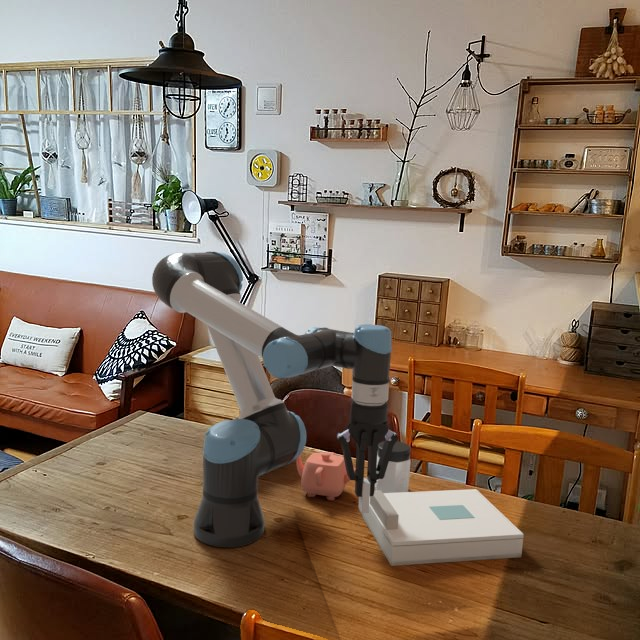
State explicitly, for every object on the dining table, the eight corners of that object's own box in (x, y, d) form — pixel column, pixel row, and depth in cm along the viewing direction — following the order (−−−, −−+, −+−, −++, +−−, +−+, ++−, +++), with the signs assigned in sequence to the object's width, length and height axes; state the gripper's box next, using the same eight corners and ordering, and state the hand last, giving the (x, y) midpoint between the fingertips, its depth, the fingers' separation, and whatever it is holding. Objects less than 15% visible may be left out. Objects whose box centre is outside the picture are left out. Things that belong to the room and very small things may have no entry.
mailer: (391, 565, 126) (392, 546, 125) (360, 514, 147) (362, 498, 146) (521, 557, 132) (523, 538, 131) (474, 509, 153) (475, 493, 152)
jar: (387, 501, 155) (390, 454, 153) (367, 488, 161) (370, 443, 159) (415, 494, 160) (418, 448, 158) (394, 482, 166) (397, 438, 164)
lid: (392, 545, 125) (393, 527, 125) (362, 497, 146) (363, 481, 146) (523, 537, 131) (525, 520, 130) (475, 492, 152) (477, 477, 152)
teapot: (340, 480, 166) (342, 442, 164) (360, 499, 155) (363, 459, 154) (288, 486, 160) (289, 447, 159) (306, 507, 150) (307, 465, 148)
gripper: (342, 406, 126) (337, 520, 130) (406, 405, 129) (398, 516, 132) (334, 396, 133) (329, 504, 137) (394, 395, 136) (388, 501, 139)
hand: (363, 510), depth 134 cm, fingers closed
